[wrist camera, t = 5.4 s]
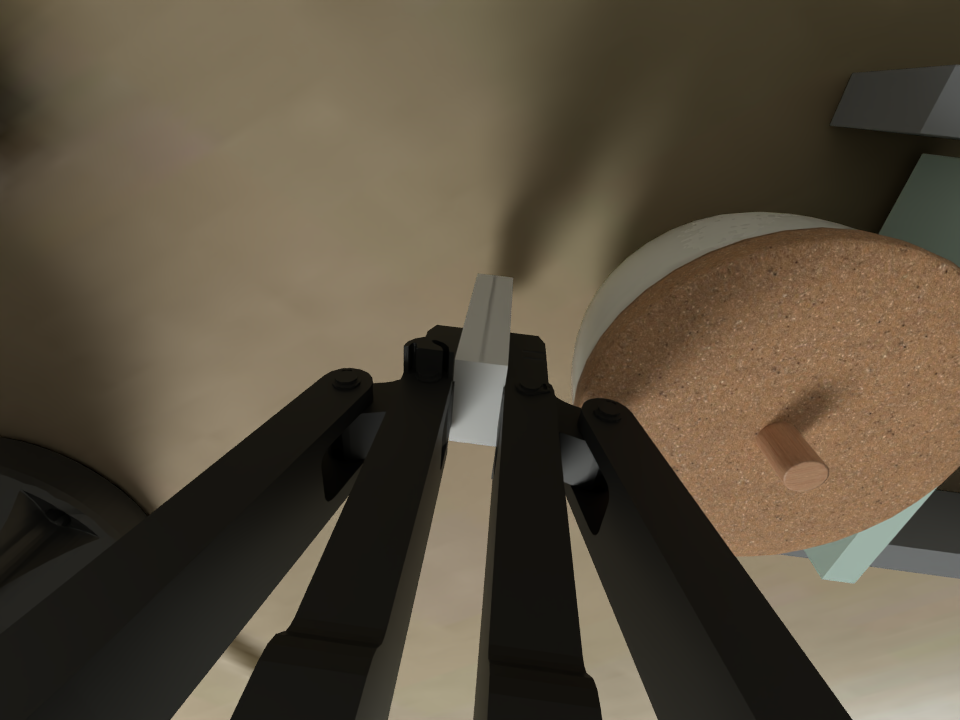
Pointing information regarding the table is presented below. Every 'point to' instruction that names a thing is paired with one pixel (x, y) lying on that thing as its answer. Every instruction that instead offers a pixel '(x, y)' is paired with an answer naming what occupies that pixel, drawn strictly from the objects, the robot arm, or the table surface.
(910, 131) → the grey fixture frame
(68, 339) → the table surface
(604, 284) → the lidded jar
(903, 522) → the pusher
